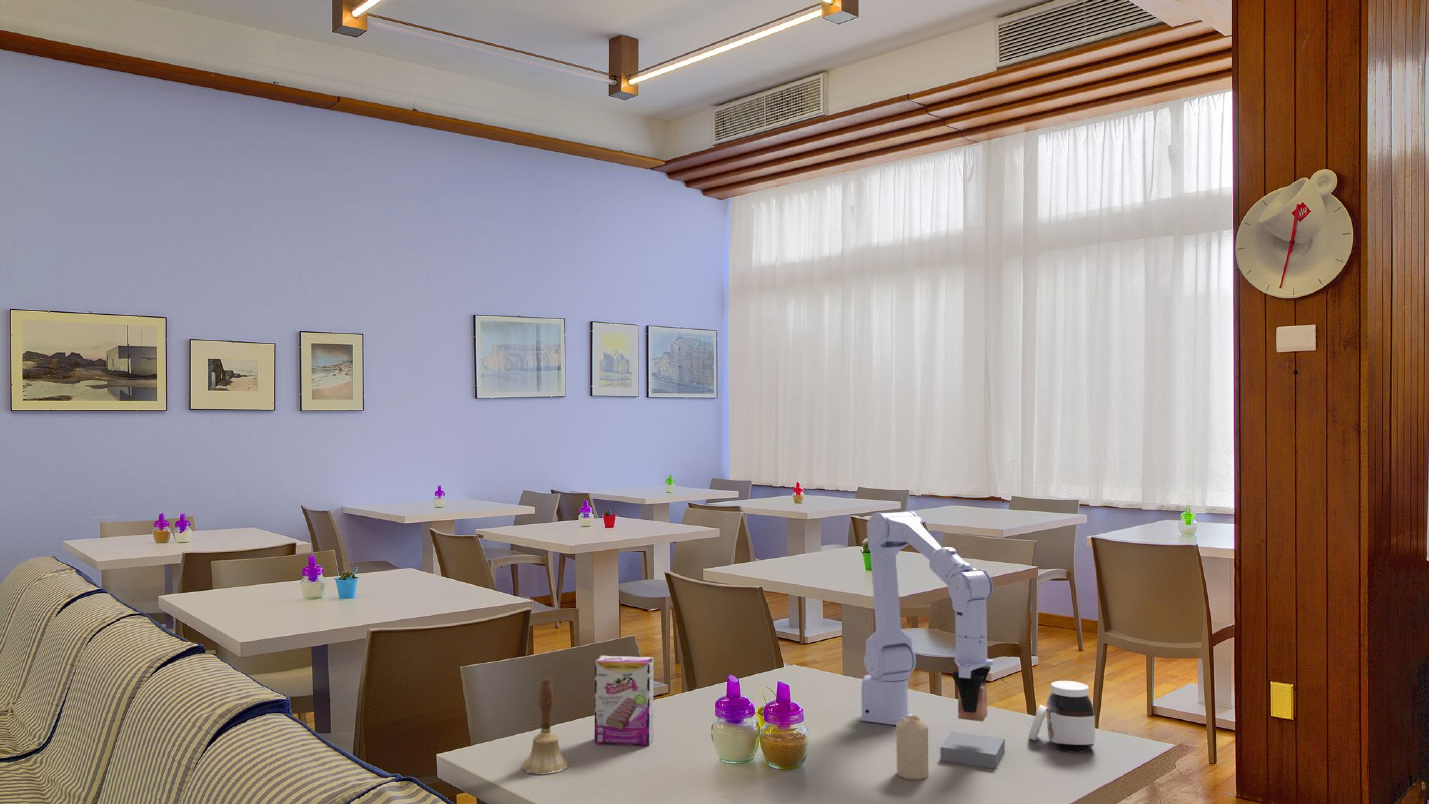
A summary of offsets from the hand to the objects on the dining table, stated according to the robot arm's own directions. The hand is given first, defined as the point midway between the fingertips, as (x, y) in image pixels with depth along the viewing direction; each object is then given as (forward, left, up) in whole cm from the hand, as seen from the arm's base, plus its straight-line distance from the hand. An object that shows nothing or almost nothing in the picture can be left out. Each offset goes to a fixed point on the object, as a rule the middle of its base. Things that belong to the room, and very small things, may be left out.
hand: (972, 708), depth 177 cm
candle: (-8, -14, -9) cm, 19 cm away
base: (0, 0, -9) cm, 9 cm away
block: (0, 0, -2) cm, 2 cm away
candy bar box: (-64, -20, -9) cm, 68 cm away
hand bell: (-70, -38, -9) cm, 80 cm away
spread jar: (+14, +14, -9) cm, 22 cm away
